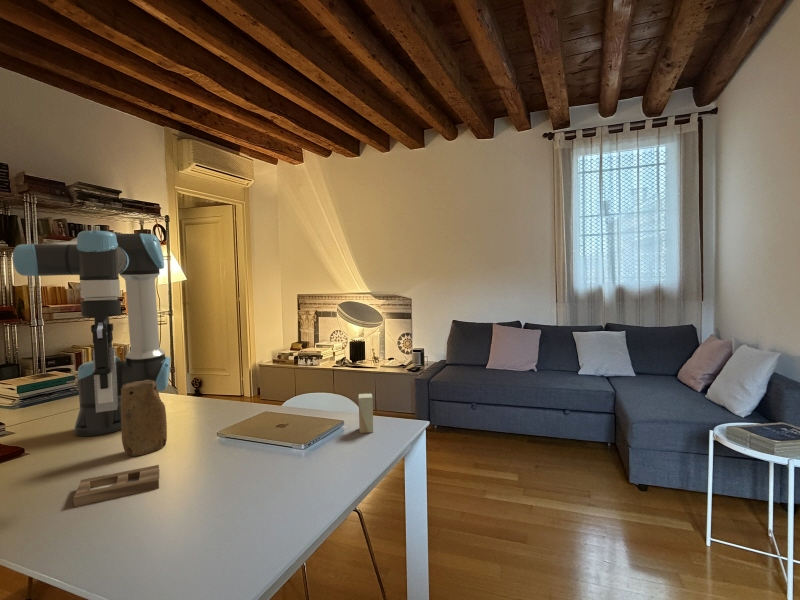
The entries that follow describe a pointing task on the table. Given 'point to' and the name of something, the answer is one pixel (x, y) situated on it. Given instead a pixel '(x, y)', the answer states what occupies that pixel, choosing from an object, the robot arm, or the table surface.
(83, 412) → the robot arm
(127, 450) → the block
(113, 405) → the steel bit
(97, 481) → the socket block
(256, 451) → the table surface
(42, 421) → the table surface
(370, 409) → the box
